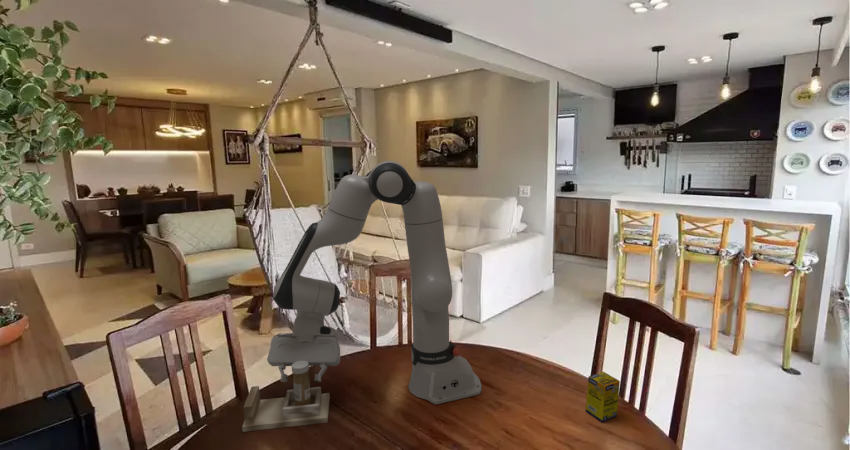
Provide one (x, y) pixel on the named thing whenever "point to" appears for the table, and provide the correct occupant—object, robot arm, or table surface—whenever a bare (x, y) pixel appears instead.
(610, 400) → the supplement box
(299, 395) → the sprinkles bottle
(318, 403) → the caddy
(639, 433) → the table surface
